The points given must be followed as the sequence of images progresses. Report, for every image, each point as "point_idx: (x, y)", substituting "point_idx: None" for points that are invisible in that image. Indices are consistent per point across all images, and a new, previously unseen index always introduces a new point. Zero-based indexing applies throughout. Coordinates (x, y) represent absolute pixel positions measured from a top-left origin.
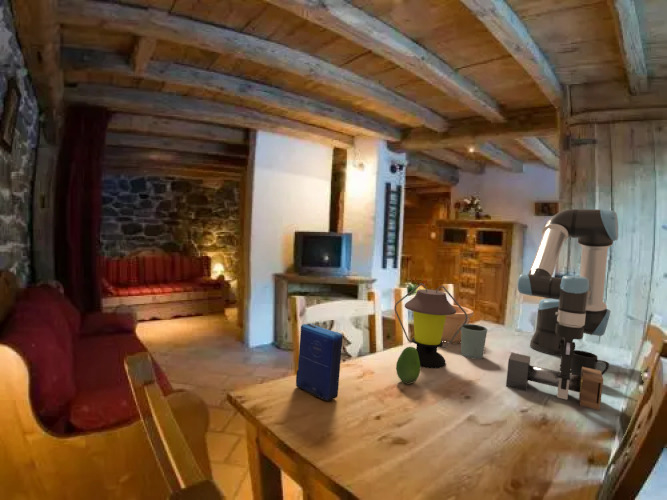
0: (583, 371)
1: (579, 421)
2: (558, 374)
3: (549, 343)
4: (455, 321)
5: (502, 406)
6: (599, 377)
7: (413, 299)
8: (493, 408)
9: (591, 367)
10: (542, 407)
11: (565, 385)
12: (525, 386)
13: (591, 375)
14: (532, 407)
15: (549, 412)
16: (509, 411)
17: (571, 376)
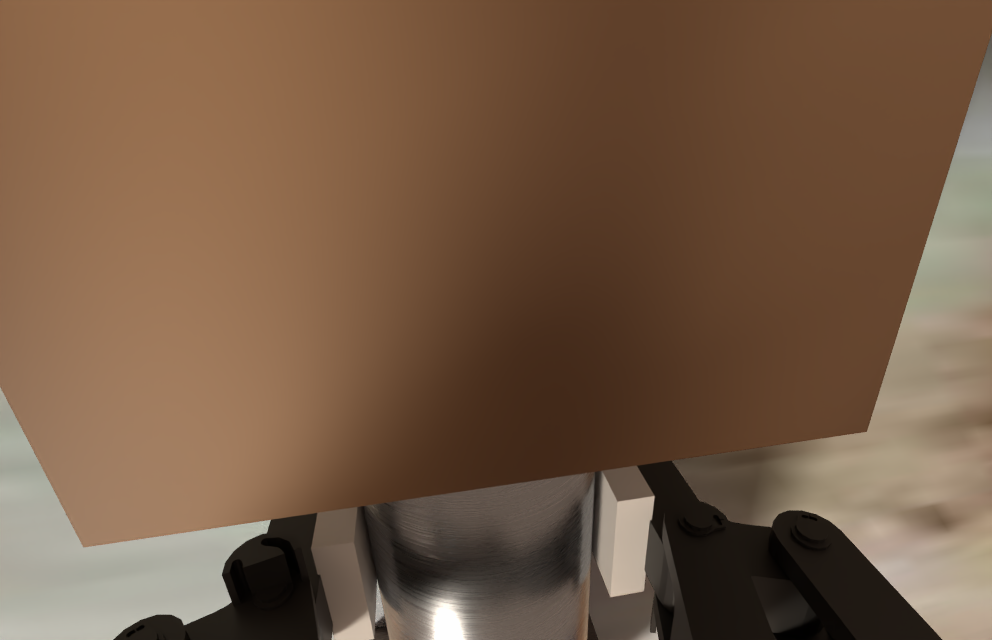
0: (556, 464)
1: (981, 210)
2: (563, 628)
3: None
4: None
5: (919, 602)
6: (851, 68)
7: None
8: (963, 618)
9: None
10: (829, 455)
11: (665, 465)
12: (592, 632)
13: (788, 283)
14: (860, 498)
15: (898, 406)
16: (973, 563)
17: (554, 510)
